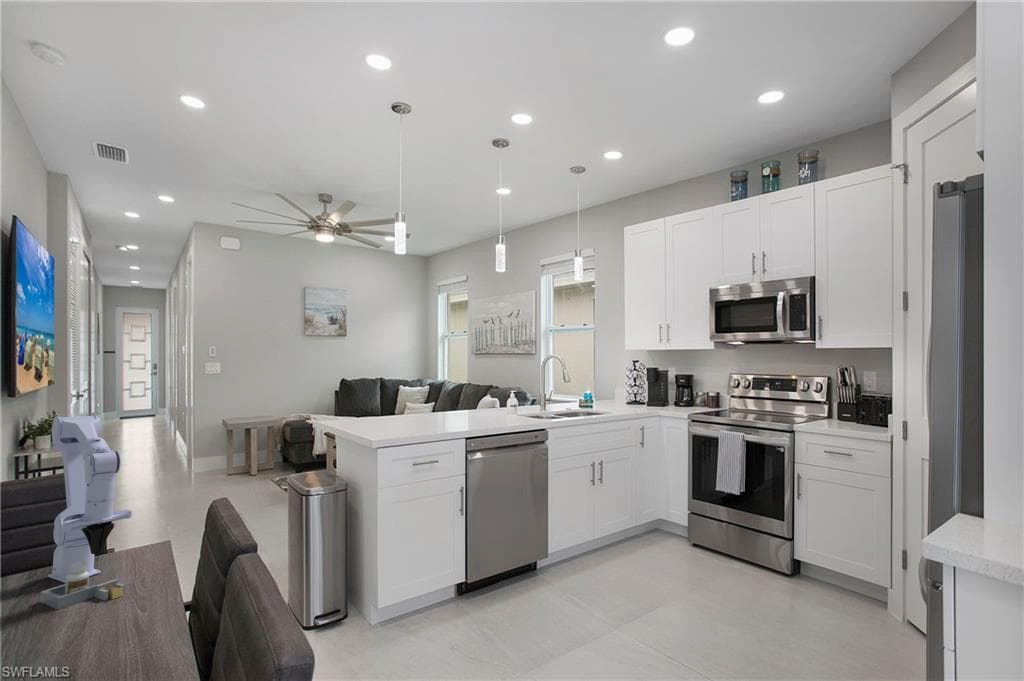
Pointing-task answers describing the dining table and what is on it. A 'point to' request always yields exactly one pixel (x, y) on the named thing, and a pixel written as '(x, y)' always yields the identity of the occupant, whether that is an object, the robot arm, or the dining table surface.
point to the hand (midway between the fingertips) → (96, 553)
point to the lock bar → (114, 591)
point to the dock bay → (76, 594)
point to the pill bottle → (77, 578)
